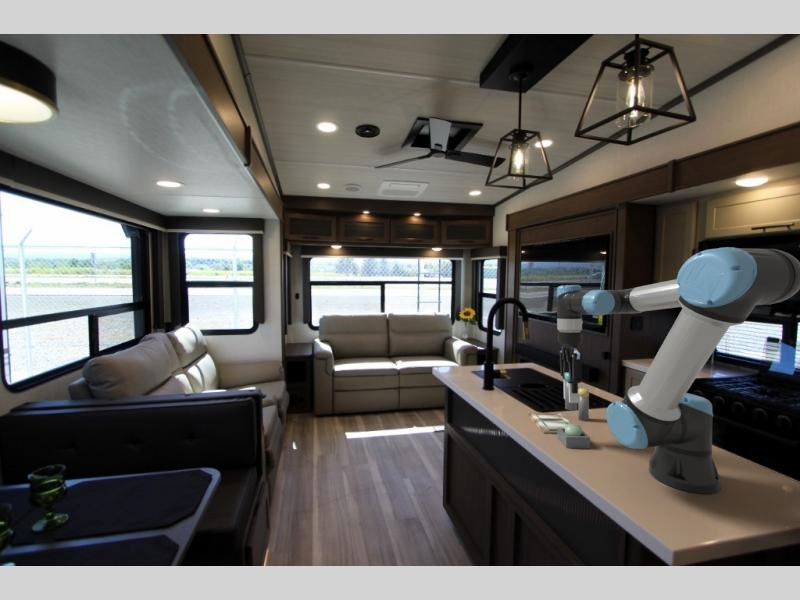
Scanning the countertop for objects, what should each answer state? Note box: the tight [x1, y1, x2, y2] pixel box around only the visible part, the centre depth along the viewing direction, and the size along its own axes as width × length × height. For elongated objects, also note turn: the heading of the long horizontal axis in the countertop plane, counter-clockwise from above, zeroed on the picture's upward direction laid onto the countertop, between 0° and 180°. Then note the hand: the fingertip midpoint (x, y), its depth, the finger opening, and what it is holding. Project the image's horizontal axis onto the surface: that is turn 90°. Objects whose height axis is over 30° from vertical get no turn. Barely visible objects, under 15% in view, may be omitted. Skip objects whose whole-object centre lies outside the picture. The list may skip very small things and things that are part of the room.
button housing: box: [556, 428, 591, 449], centre depth 119 cm, size 8×8×4 cm
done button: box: [565, 423, 583, 436], centre depth 119 cm, size 5×5×4 cm
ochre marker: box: [577, 387, 590, 422], centre depth 140 cm, size 4×4×12 cm
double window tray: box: [528, 412, 573, 435], centre depth 136 cm, size 18×13×1 cm
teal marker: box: [564, 372, 578, 412], centre depth 120 cm, size 4×4×12 cm
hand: (570, 400), depth 120 cm, fingers closed on teal marker, 3 cm apart
